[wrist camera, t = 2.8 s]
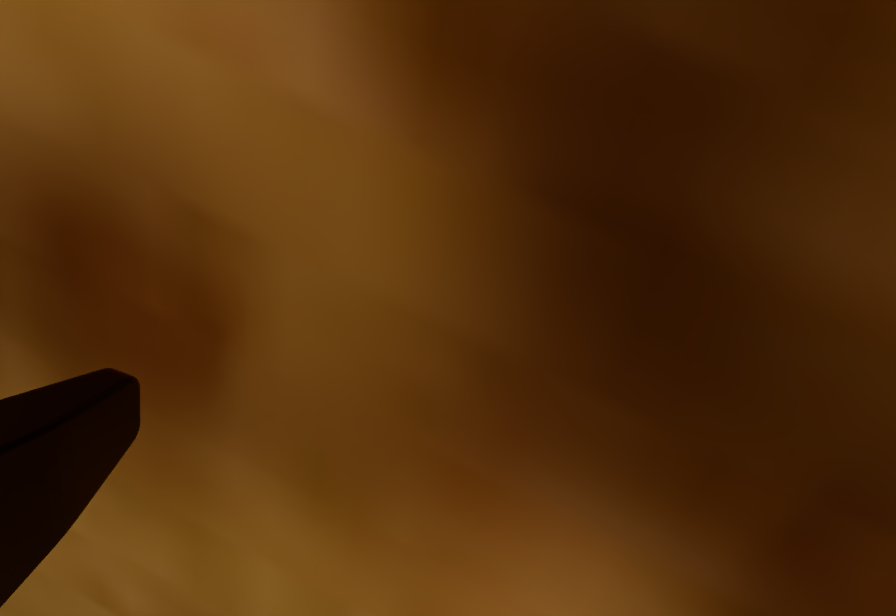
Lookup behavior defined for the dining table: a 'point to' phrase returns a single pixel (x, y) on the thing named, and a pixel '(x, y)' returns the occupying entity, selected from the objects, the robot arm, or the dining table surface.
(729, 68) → the dining table surface
